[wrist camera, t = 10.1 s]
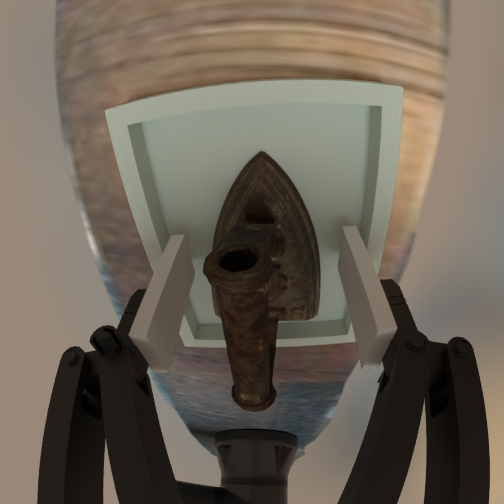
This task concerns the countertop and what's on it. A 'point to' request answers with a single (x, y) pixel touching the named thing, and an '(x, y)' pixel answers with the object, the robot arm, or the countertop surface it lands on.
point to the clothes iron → (261, 273)
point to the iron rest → (239, 154)
